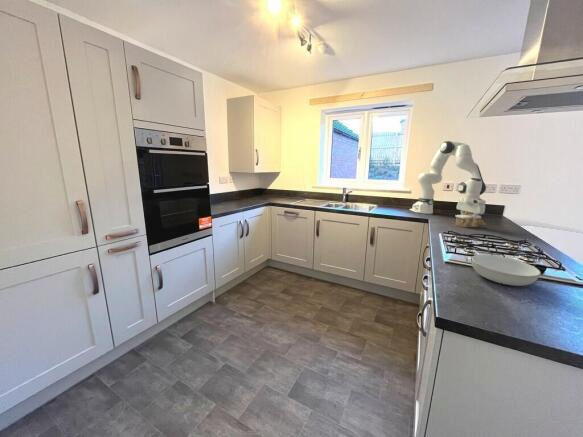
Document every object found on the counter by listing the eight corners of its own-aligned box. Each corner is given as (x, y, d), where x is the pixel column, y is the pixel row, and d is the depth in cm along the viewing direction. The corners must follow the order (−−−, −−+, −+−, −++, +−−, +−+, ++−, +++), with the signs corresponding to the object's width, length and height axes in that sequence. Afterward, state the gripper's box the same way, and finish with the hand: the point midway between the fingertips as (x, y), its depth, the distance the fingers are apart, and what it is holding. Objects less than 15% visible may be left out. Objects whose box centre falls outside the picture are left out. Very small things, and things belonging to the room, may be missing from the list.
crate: (461, 227, 181) (462, 218, 179) (454, 225, 186) (456, 216, 184) (477, 226, 185) (479, 217, 183) (471, 224, 190) (473, 216, 188)
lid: (463, 219, 179) (463, 216, 178) (455, 217, 185) (455, 215, 185) (480, 219, 183) (481, 216, 182) (472, 217, 189) (473, 214, 189)
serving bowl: (470, 264, 112) (473, 250, 110) (532, 278, 99) (536, 263, 97) (466, 280, 96) (470, 264, 94) (540, 299, 83) (545, 281, 82)
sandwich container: (487, 226, 188) (491, 207, 185) (463, 223, 196) (467, 205, 193) (485, 223, 195) (489, 205, 192) (462, 221, 203) (466, 203, 200)
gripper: (456, 197, 190) (453, 214, 193) (481, 201, 170) (477, 220, 174) (462, 197, 191) (459, 214, 194) (488, 201, 172) (484, 220, 175)
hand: (468, 217), depth 184 cm, fingers open, 8 cm apart
